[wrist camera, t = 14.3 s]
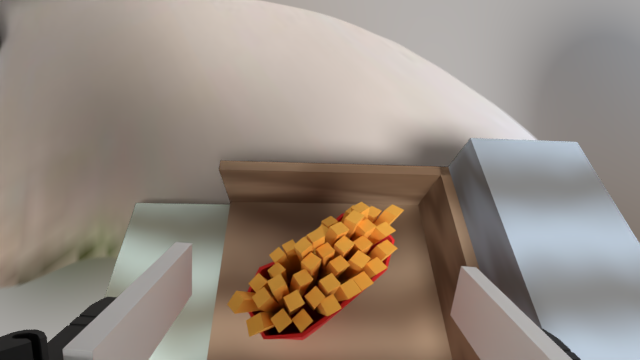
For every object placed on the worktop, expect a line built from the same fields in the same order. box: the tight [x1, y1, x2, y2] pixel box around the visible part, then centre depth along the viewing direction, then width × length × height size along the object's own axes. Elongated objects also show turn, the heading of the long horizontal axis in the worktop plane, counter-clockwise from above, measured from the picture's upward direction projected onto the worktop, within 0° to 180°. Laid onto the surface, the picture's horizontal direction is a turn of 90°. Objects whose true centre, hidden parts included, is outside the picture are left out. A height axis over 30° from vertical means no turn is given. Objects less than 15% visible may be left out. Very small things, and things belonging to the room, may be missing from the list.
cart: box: [104, 138, 640, 360], centre depth 20 cm, size 18×34×10 cm, turn 91°
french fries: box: [227, 202, 404, 340], centre depth 17 cm, size 8×4×12 cm, turn 126°
